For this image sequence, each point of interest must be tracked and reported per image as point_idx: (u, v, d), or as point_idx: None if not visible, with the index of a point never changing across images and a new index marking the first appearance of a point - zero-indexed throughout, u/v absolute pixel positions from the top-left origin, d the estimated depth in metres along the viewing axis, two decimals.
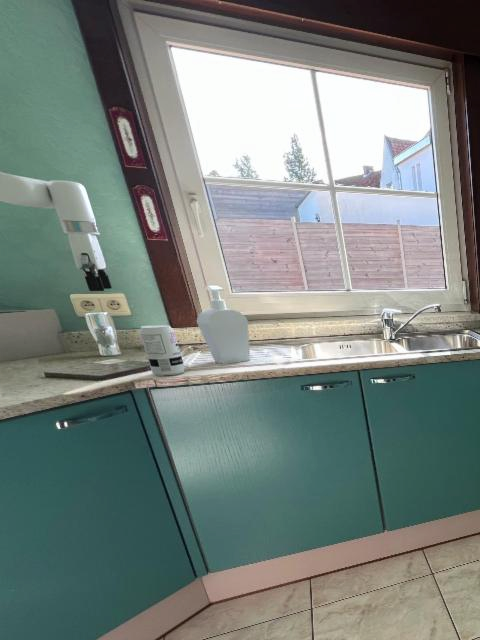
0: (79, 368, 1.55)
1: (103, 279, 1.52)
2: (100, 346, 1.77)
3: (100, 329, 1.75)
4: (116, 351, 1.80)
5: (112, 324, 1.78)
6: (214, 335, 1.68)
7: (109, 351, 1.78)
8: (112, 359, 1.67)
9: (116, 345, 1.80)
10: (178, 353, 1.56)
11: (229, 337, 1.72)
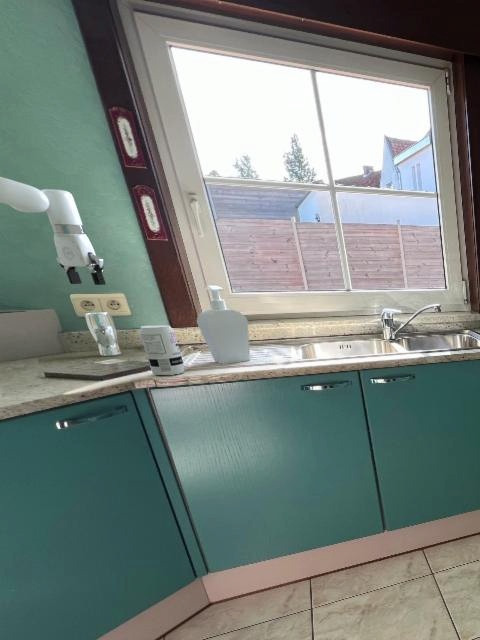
0: (79, 368, 1.55)
1: (75, 275, 1.71)
2: (100, 346, 1.77)
3: (100, 329, 1.75)
4: (116, 351, 1.80)
5: (112, 324, 1.78)
6: (214, 335, 1.68)
7: (109, 351, 1.78)
8: (112, 359, 1.67)
9: (116, 345, 1.80)
10: (178, 353, 1.56)
11: (229, 337, 1.72)
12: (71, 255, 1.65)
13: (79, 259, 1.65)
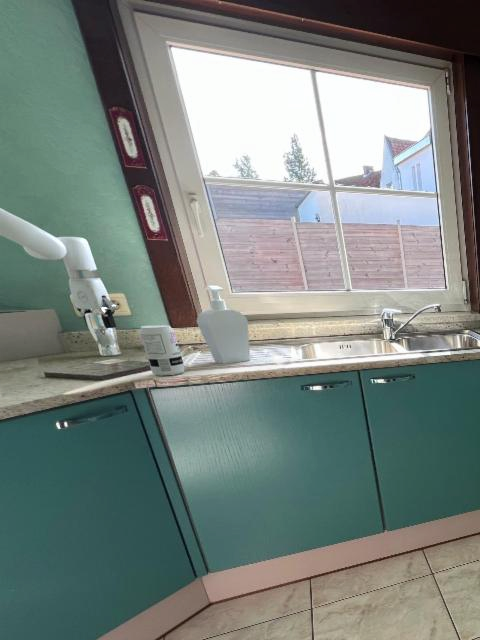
0: (79, 368, 1.55)
1: None
2: (100, 346, 1.77)
3: (100, 329, 1.75)
4: (116, 351, 1.80)
5: None
6: (214, 335, 1.68)
7: (109, 351, 1.78)
8: (112, 359, 1.67)
9: (116, 345, 1.80)
10: (178, 353, 1.56)
11: (229, 337, 1.72)
12: (85, 298, 1.71)
13: (93, 302, 1.71)
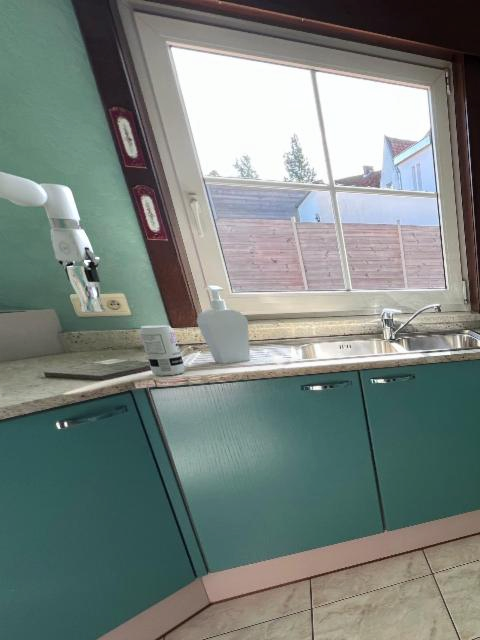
0: (79, 368, 1.55)
1: None
2: (82, 301, 1.70)
3: (82, 283, 1.68)
4: (99, 307, 1.73)
5: None
6: (214, 335, 1.68)
7: (92, 307, 1.71)
8: (112, 359, 1.67)
9: (99, 301, 1.73)
10: (178, 353, 1.56)
11: (229, 337, 1.72)
12: (67, 250, 1.64)
13: (76, 254, 1.64)
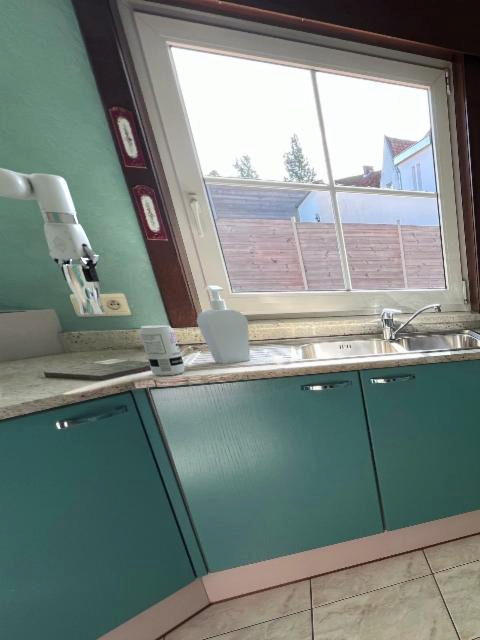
0: (79, 368, 1.55)
1: None
2: (81, 303, 1.56)
3: (80, 283, 1.54)
4: (99, 309, 1.59)
5: None
6: (214, 335, 1.68)
7: (91, 309, 1.57)
8: (112, 359, 1.67)
9: (99, 302, 1.59)
10: (178, 353, 1.56)
11: (229, 337, 1.72)
12: (63, 247, 1.50)
13: (72, 251, 1.50)
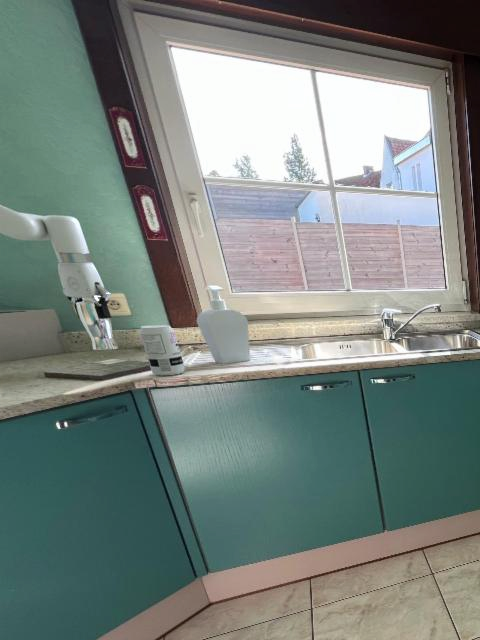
0: (79, 368, 1.55)
1: None
2: (93, 339, 1.59)
3: (93, 320, 1.57)
4: (111, 345, 1.62)
5: None
6: (214, 335, 1.68)
7: (103, 344, 1.60)
8: (112, 359, 1.67)
9: (111, 338, 1.62)
10: (178, 353, 1.56)
11: (229, 337, 1.72)
12: (76, 285, 1.53)
13: (85, 290, 1.53)
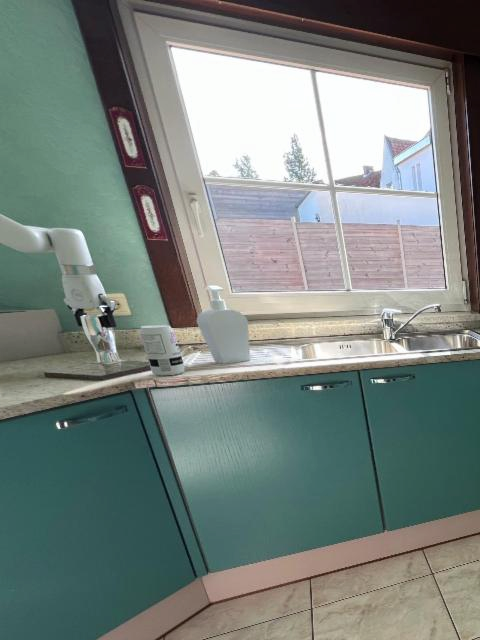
0: (79, 368, 1.55)
1: None
2: (97, 352, 1.60)
3: (97, 333, 1.58)
4: (115, 357, 1.63)
5: (111, 328, 1.61)
6: (214, 335, 1.68)
7: (107, 357, 1.62)
8: None
9: (115, 351, 1.63)
10: (178, 353, 1.56)
11: (229, 337, 1.72)
12: (80, 297, 1.54)
13: (89, 301, 1.54)
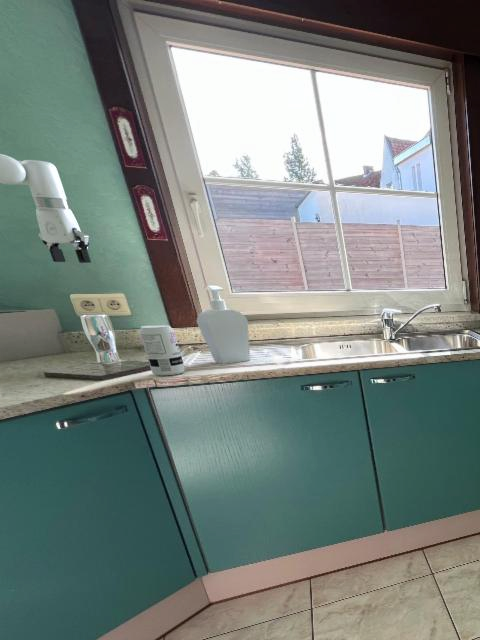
0: (79, 368, 1.55)
1: (59, 253, 1.63)
2: (97, 352, 1.60)
3: (97, 333, 1.58)
4: (115, 357, 1.63)
5: (111, 328, 1.61)
6: (214, 335, 1.68)
7: (107, 357, 1.62)
8: None
9: (115, 351, 1.63)
10: (178, 353, 1.56)
11: (229, 337, 1.72)
12: (54, 230, 1.57)
13: (63, 235, 1.57)
